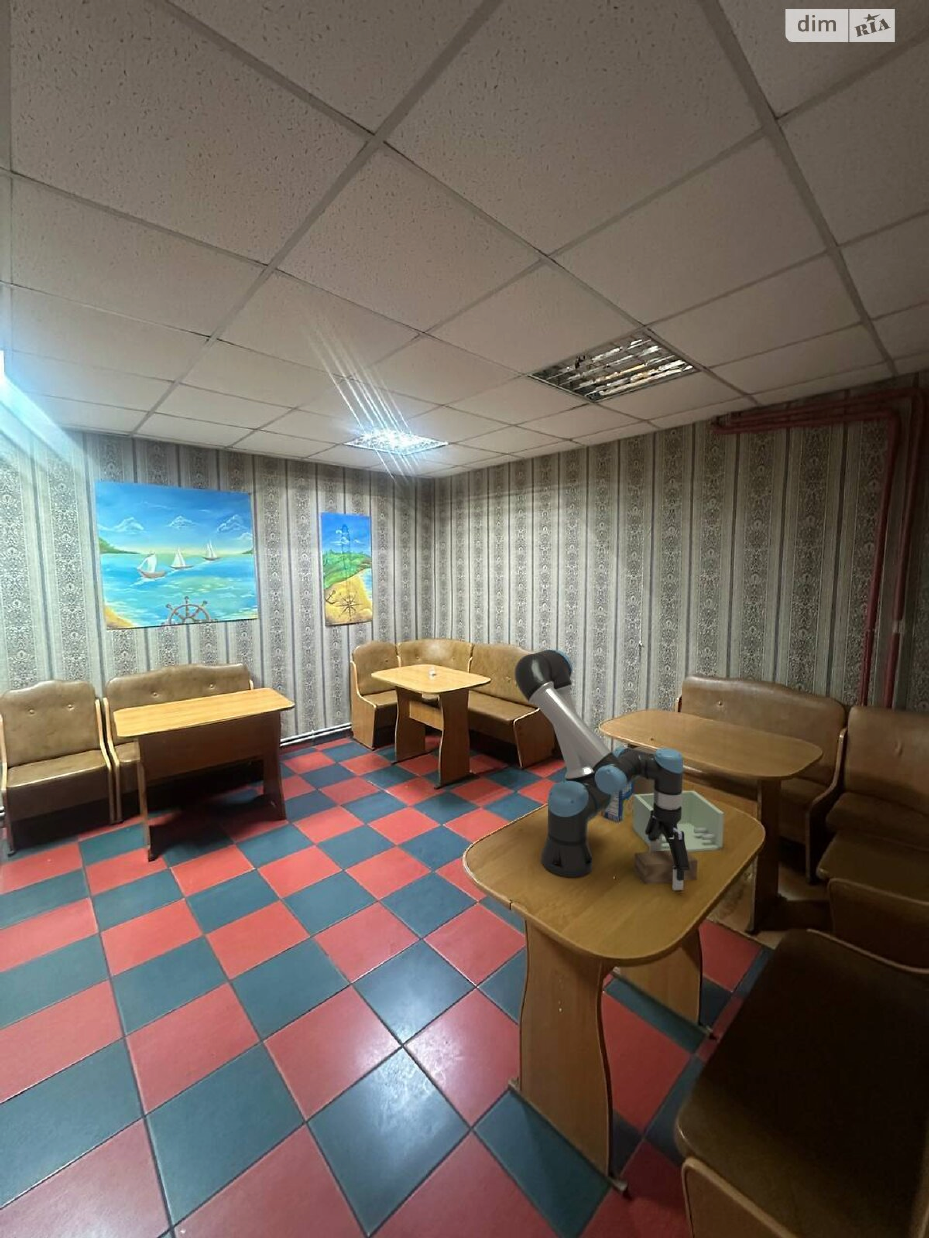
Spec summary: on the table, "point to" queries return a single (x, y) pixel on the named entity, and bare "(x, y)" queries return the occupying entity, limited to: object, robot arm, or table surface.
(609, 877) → the table surface
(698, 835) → the open storage box
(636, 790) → the wooden block
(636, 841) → the table surface
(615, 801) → the beverage box
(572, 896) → the table surface
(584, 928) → the table surface
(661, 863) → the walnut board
